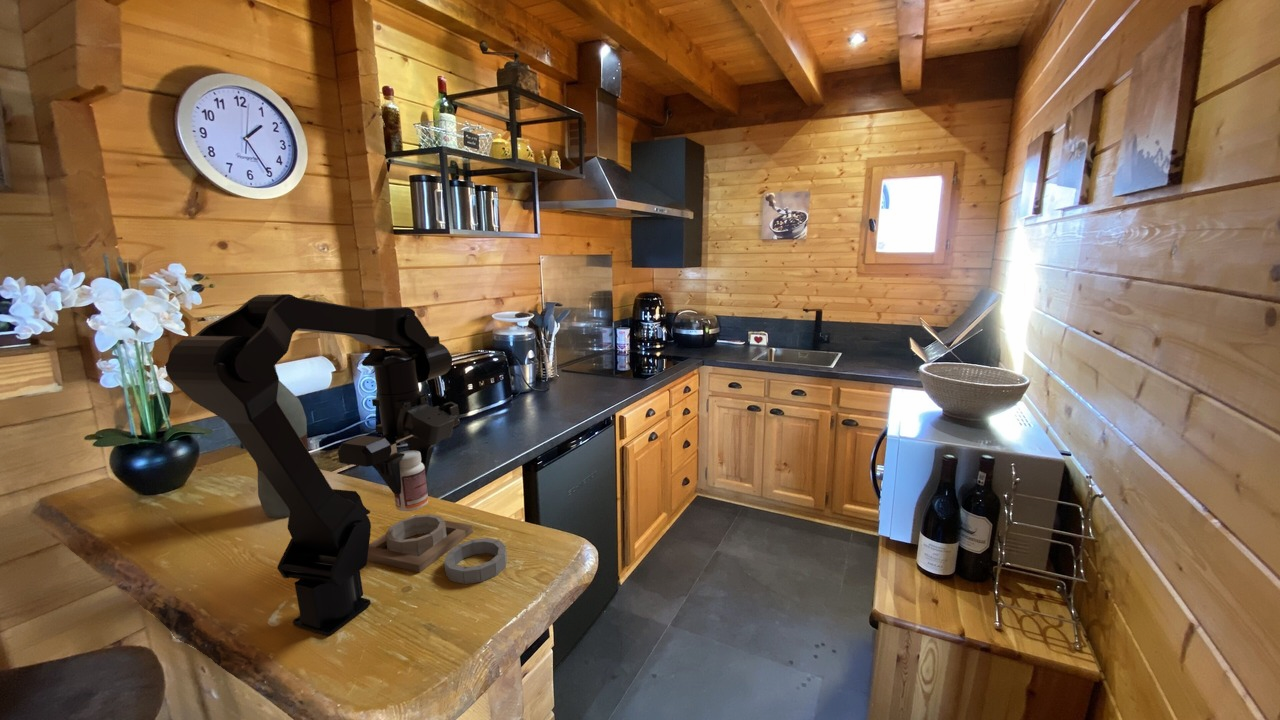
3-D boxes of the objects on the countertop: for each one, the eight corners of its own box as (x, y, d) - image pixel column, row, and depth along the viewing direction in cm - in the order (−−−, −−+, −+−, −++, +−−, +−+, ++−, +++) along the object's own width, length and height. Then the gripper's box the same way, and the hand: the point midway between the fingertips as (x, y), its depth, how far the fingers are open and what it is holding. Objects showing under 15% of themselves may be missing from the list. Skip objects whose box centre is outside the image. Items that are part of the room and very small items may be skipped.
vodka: (329, 503, 100) (304, 348, 94) (275, 524, 93) (245, 357, 87) (305, 492, 105) (280, 344, 99) (252, 512, 98) (222, 353, 92)
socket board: (419, 572, 77) (417, 553, 76) (358, 558, 81) (355, 540, 81) (472, 532, 88) (471, 515, 87) (416, 521, 92) (414, 505, 92)
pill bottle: (433, 498, 85) (428, 449, 84) (418, 512, 80) (413, 460, 79) (406, 498, 86) (400, 448, 84) (389, 511, 81) (383, 459, 79)
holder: (482, 588, 73) (481, 575, 72) (433, 577, 76) (432, 564, 75) (517, 555, 81) (516, 543, 80) (471, 546, 84) (470, 534, 83)
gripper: (390, 411, 68) (404, 522, 71) (481, 379, 85) (489, 470, 88) (328, 405, 72) (343, 511, 75) (426, 375, 89) (436, 462, 92)
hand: (410, 486), depth 82 cm, fingers closed on pill bottle, 5 cm apart
